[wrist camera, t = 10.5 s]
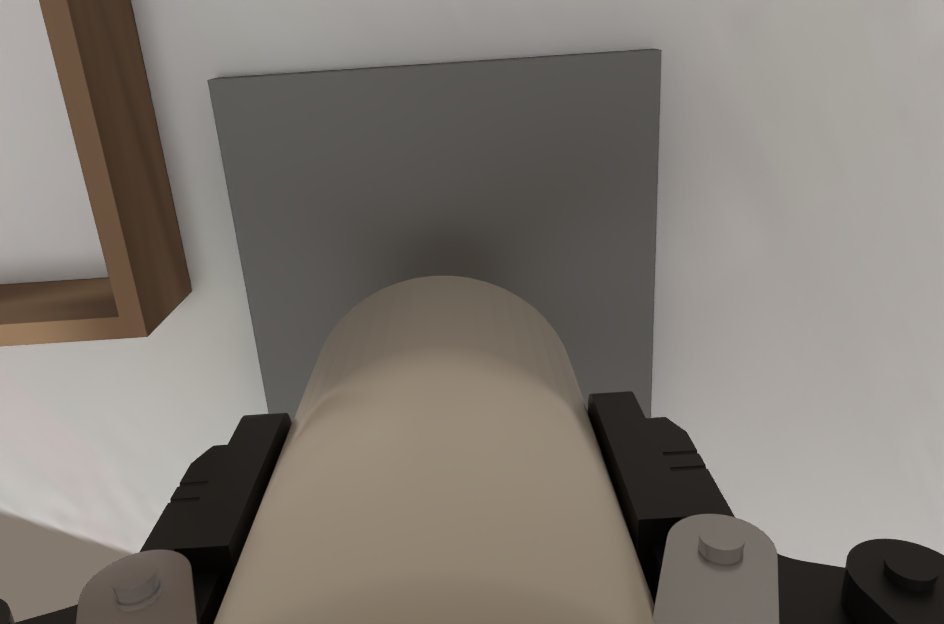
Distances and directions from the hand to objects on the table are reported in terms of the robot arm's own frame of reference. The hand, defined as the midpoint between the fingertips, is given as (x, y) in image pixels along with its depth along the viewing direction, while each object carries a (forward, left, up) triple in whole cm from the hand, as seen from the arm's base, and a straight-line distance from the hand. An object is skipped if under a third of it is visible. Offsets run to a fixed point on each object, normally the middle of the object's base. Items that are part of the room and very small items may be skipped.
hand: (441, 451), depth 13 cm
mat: (0, 0, -10) cm, 10 cm away
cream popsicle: (0, 0, -2) cm, 2 cm away
